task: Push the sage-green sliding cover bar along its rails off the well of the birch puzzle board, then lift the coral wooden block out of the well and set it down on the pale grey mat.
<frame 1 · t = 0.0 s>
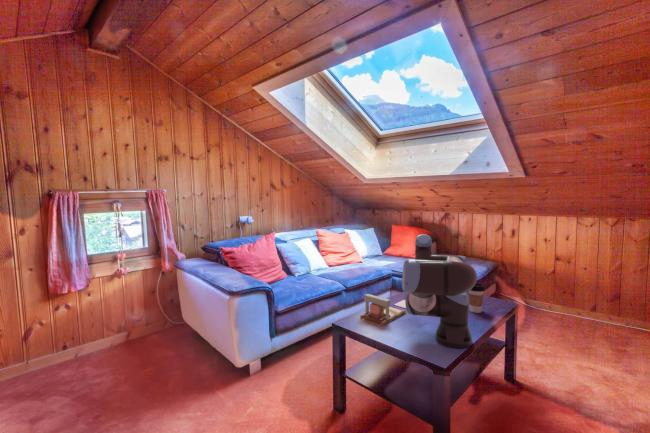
hand: (422, 286, 177), 15 cm above the table, tool tilted 35°, fingers open, 13 cm apart
mat: (406, 305, 191), on the table
cover bar: (377, 306, 167), point 8 cm above the table, slide at 0.0 cm
block: (377, 319, 168), point 1 cm above the table, touching puzzle board
puzzle board: (383, 318, 172), on the table
cup: (436, 297, 203), on the table
coffee cup: (475, 311, 181), on the table
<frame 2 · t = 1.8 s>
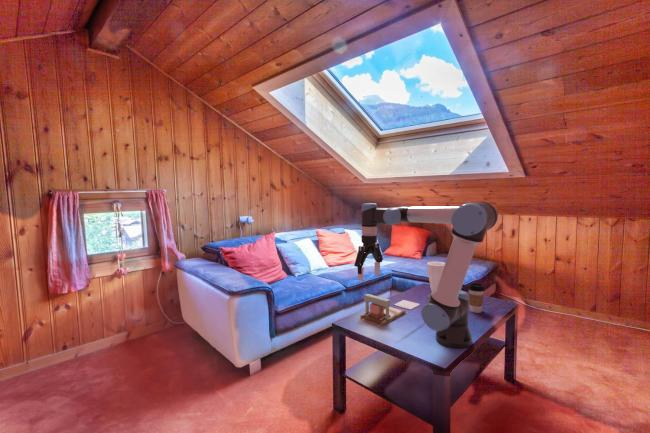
hand: (369, 277, 161), 25 cm above the table, tool pointing down, fingers open, 12 cm apart
nothing on the table moved.
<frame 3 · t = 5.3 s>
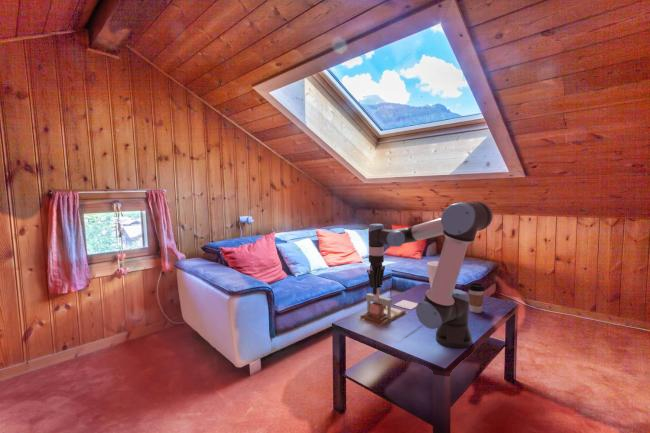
hand: (376, 299, 166), 12 cm above the table, tool pointing down, fingers closed
cover bar: (378, 305, 168), point 8 cm above the table, slide at 1.5 cm, touching gripper
everything else where it was.
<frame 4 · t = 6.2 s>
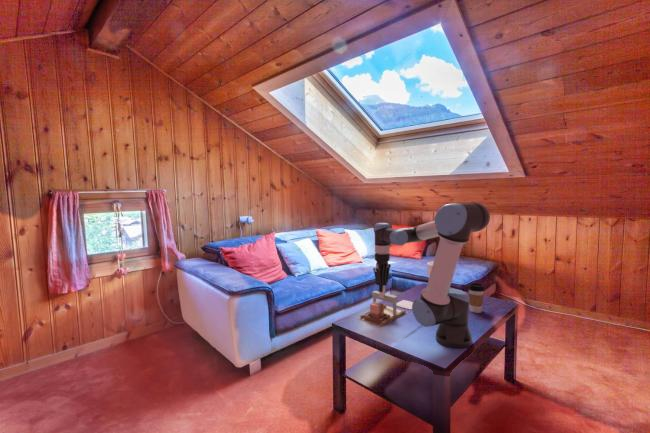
hand: (382, 297, 170), 12 cm above the table, tool pointing down, fingers closed
cover bar: (384, 303, 172), point 8 cm above the table, slide at 6.8 cm, touching gripper
everything else where it was.
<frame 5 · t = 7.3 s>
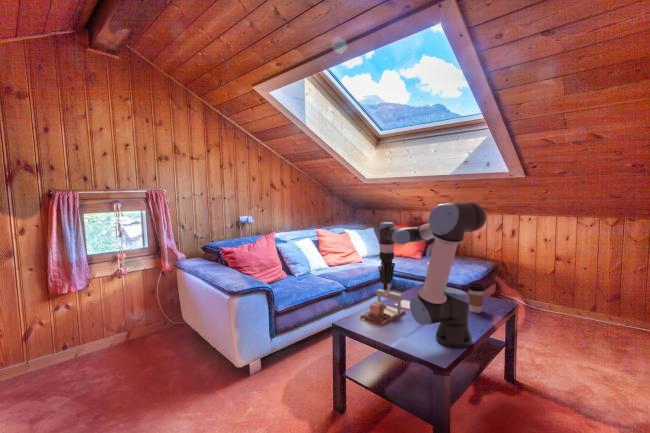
hand: (386, 295, 173), 12 cm above the table, tool pointing down, fingers closed
cover bar: (388, 301, 175), point 8 cm above the table, slide at 10.9 cm, touching gripper
everything else where it was.
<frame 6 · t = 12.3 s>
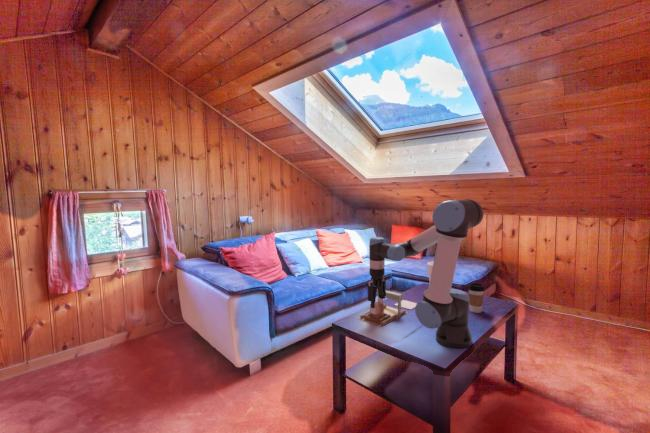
hand: (377, 312, 167), 5 cm above the table, tool pointing down, fingers closed on block, 5 cm apart
cover bar: (389, 301, 175), point 8 cm above the table, slide at 11.2 cm
block: (377, 319, 168), point 2 cm above the table, touching gripper, puzzle board
everything else where it was.
when the fingers open (6 cm above the table, at t = 19.4 s): block drops 2 cm, resting on mat.
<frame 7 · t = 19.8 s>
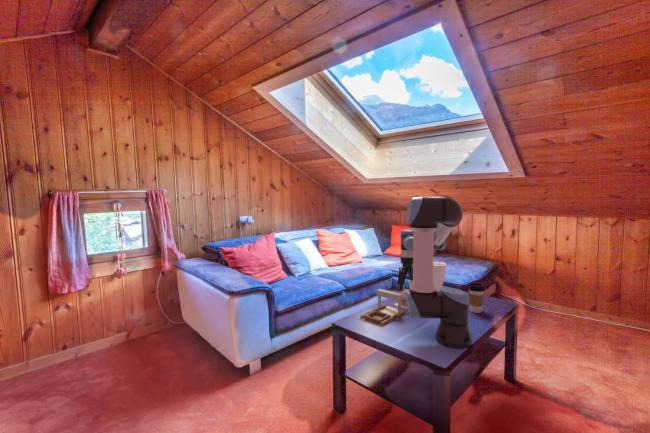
hand: (407, 293, 190), 7 cm above the table, tool pointing down, fingers open, 10 cm apart
block: (406, 304, 191), resting on mat
everything else where it was.
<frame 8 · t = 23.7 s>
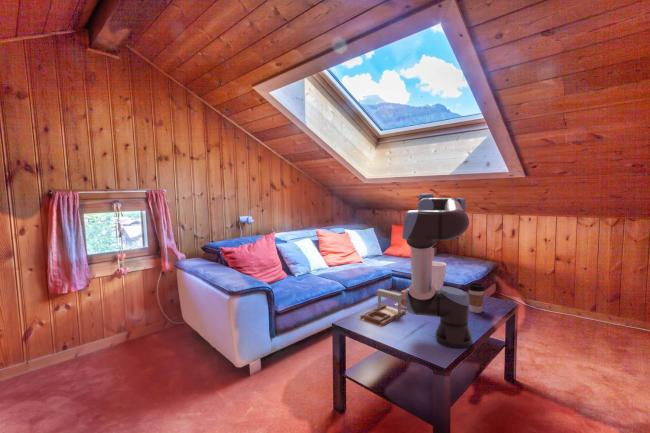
hand: (425, 261, 176), 29 cm above the table, tool pointing down, fingers open, 13 cm apart
nothing on the table moved.
at the end: cover bar slide at 11.2 cm; block inside the target area (0.1 cm from its centre), resting on mat; block tilted 0° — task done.
